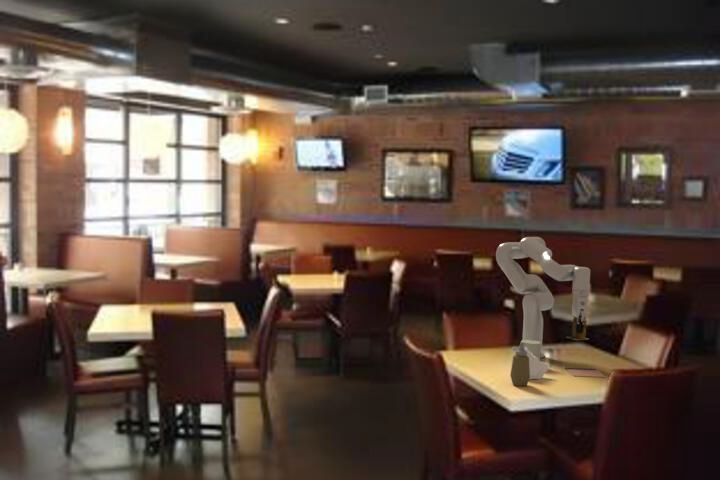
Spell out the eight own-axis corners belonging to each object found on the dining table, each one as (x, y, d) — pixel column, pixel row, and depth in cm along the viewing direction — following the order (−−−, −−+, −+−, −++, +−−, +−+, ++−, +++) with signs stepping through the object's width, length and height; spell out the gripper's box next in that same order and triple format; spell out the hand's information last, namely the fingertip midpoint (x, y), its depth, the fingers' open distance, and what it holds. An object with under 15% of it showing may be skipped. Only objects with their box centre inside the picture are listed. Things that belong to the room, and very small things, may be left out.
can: (541, 365, 364) (543, 340, 364) (537, 369, 356) (538, 343, 355) (522, 363, 368) (523, 337, 367) (517, 366, 360) (518, 341, 359)
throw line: (565, 369, 359) (565, 368, 359) (565, 368, 360) (565, 367, 360) (596, 370, 359) (596, 369, 359) (595, 369, 360) (595, 368, 360)
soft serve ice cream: (539, 385, 332) (536, 355, 328) (506, 383, 340) (502, 352, 336) (548, 373, 342) (545, 343, 339) (516, 370, 350) (512, 341, 346)
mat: (573, 376, 345) (573, 375, 345) (566, 370, 357) (566, 369, 357) (605, 377, 345) (605, 376, 345) (597, 371, 357) (597, 370, 357)
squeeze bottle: (507, 382, 329) (509, 340, 328) (526, 382, 330) (528, 340, 328) (512, 387, 321) (515, 343, 320) (532, 387, 321) (534, 344, 320)
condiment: (589, 339, 365) (591, 313, 365) (577, 340, 361) (578, 314, 360) (577, 336, 372) (579, 311, 371) (564, 337, 367) (566, 312, 366)
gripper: (593, 296, 356) (590, 335, 358) (583, 291, 373) (580, 328, 375) (577, 295, 356) (574, 334, 358) (567, 290, 374) (564, 327, 375)
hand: (577, 330), depth 366 cm, fingers closed on condiment, 6 cm apart
